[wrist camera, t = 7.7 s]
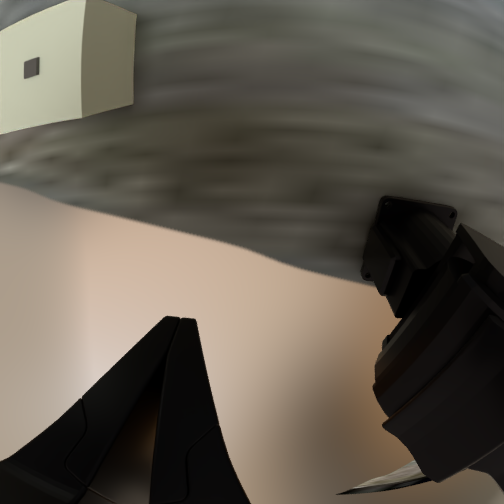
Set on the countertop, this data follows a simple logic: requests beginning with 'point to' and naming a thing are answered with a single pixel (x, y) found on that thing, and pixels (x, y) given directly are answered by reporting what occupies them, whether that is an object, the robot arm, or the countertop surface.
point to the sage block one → (66, 64)
